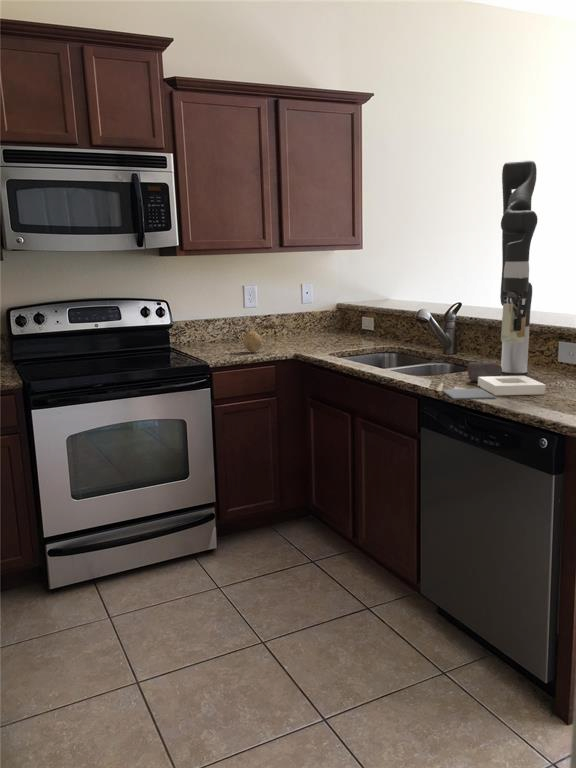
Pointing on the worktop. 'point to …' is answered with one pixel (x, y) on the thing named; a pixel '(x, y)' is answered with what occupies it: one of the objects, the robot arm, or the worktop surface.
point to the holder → (511, 385)
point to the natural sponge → (252, 341)
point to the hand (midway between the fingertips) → (513, 329)
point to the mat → (468, 394)
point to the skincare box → (511, 326)
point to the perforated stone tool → (483, 370)
